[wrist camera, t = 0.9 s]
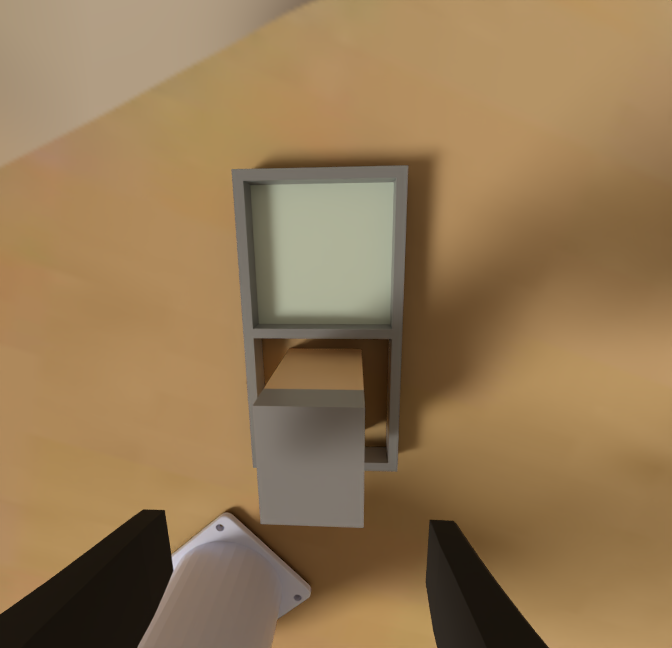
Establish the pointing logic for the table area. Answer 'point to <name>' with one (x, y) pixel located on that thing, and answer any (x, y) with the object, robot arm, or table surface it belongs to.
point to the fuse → (312, 440)
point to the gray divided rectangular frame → (323, 267)
